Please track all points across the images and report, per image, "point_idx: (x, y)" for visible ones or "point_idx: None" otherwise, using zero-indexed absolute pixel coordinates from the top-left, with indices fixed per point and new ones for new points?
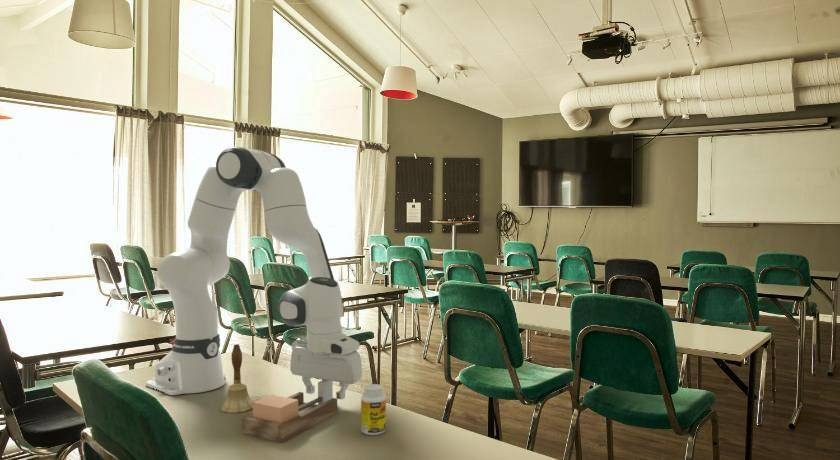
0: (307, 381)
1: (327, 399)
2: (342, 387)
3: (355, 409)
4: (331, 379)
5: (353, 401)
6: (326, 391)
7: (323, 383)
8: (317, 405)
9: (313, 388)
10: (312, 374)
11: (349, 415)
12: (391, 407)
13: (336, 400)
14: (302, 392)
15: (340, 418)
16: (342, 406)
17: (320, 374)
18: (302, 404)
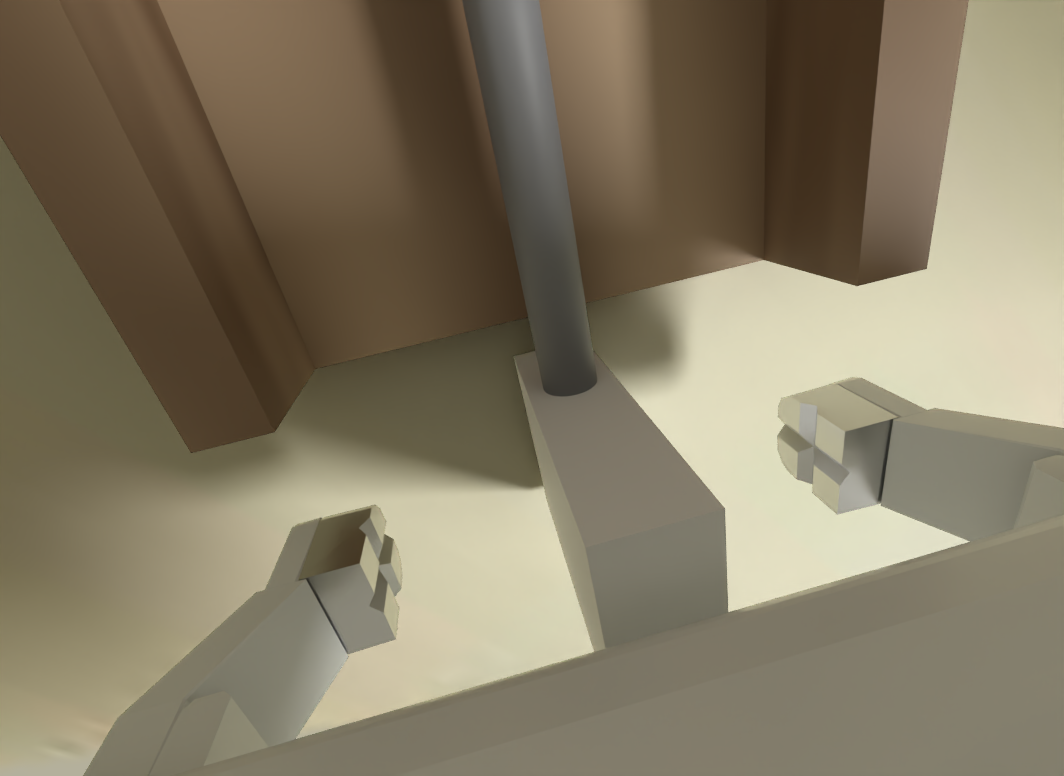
0: (996, 484)
1: (538, 455)
2: (171, 690)
3: (229, 539)
4: (347, 753)
5: (436, 627)
6: (558, 506)
7: (589, 557)
8: None
9: (818, 472)
10: (1046, 606)
11: (87, 401)
12: (48, 750)
13: (188, 421)
14: (873, 280)
15: (49, 266)
16: (403, 505)
17: (786, 739)
18: (726, 196)
